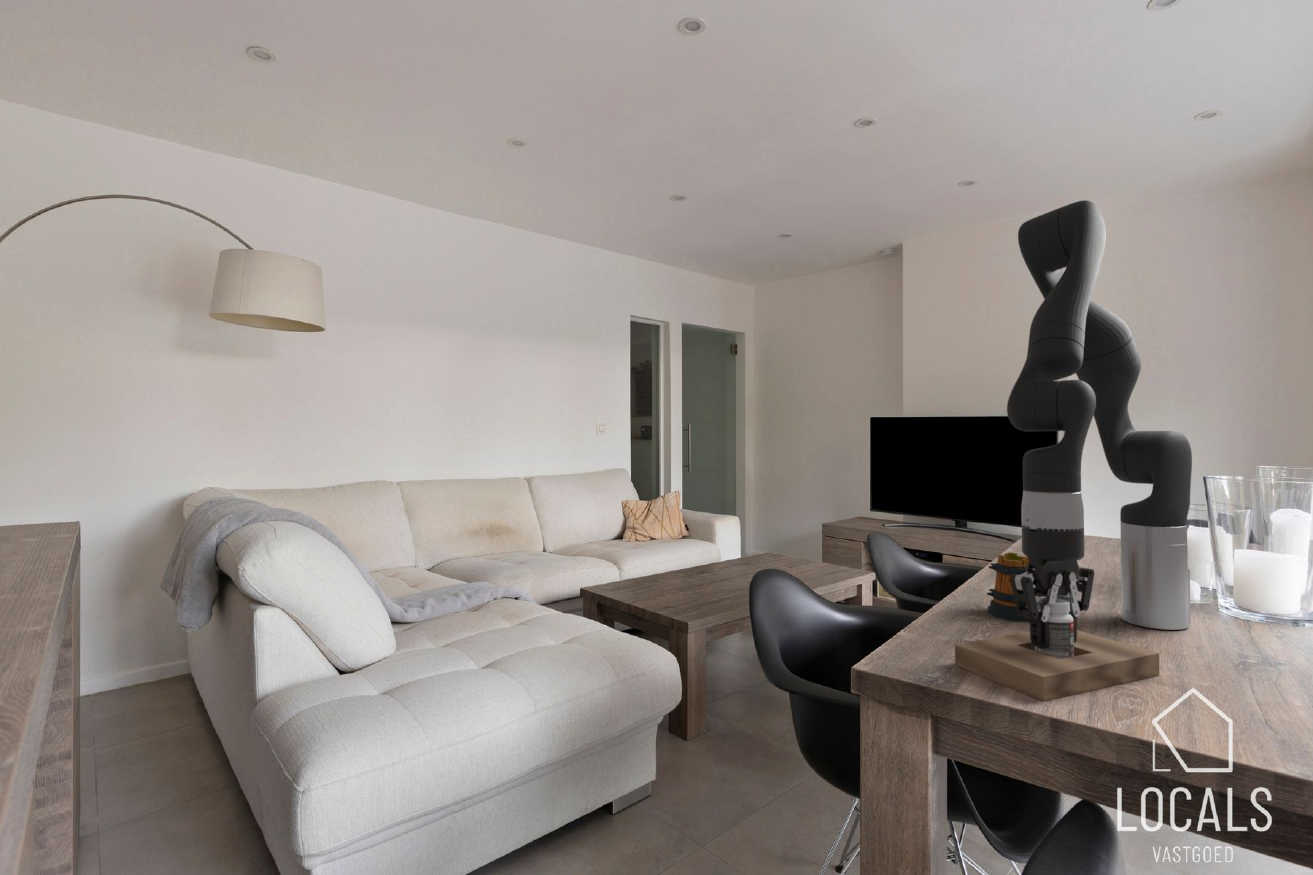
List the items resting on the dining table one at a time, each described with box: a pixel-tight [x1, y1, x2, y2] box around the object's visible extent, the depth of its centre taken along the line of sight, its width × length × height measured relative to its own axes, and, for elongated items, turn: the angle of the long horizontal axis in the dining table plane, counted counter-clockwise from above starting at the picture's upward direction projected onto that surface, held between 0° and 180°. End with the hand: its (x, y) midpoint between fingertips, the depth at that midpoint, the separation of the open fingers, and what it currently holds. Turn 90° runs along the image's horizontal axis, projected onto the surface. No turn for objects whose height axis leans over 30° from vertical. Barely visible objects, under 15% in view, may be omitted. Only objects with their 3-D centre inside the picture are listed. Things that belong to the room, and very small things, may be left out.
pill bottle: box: [1035, 597, 1074, 659], centre depth 92 cm, size 5×5×8 cm
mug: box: [986, 551, 1047, 623], centre depth 119 cm, size 13×10×12 cm
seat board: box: [954, 629, 1160, 702], centre depth 92 cm, size 22×14×3 cm, turn 111°
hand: (1053, 643), depth 92 cm, fingers closed on pill bottle, 4 cm apart
